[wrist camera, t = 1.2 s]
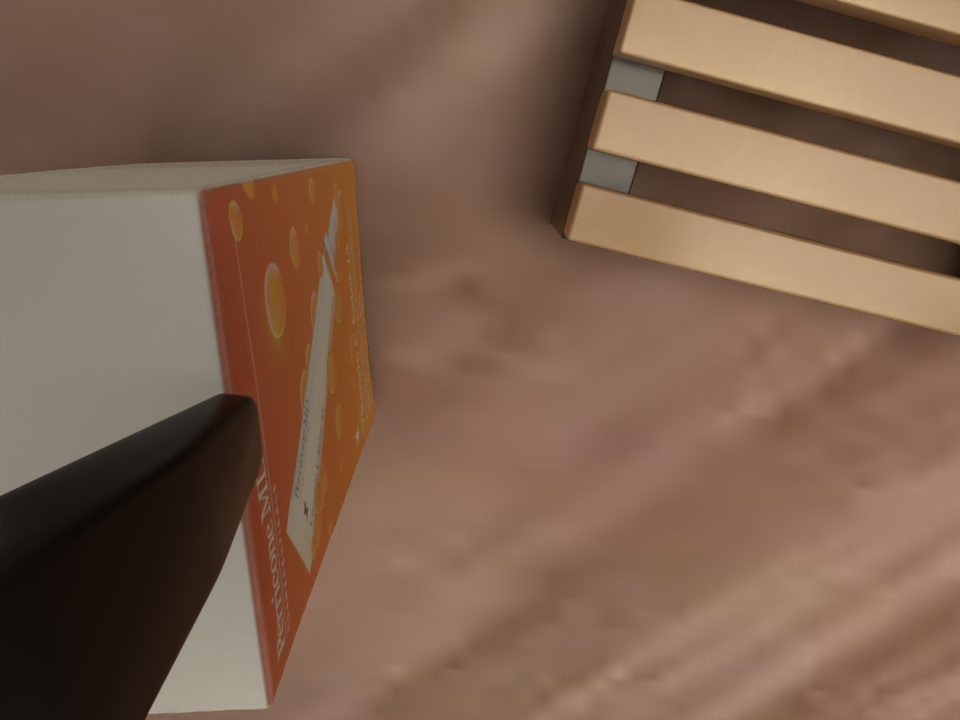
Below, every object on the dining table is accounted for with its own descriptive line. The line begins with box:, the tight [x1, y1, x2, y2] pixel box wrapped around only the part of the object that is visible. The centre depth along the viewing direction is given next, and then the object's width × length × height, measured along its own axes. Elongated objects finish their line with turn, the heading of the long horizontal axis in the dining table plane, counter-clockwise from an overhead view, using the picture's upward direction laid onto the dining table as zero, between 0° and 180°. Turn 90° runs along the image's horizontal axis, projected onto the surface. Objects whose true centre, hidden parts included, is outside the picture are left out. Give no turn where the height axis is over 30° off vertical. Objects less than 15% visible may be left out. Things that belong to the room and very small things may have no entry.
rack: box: [551, 0, 960, 336], centre depth 18 cm, size 11×14×6 cm
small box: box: [0, 158, 375, 714], centre depth 16 cm, size 8×6×13 cm
